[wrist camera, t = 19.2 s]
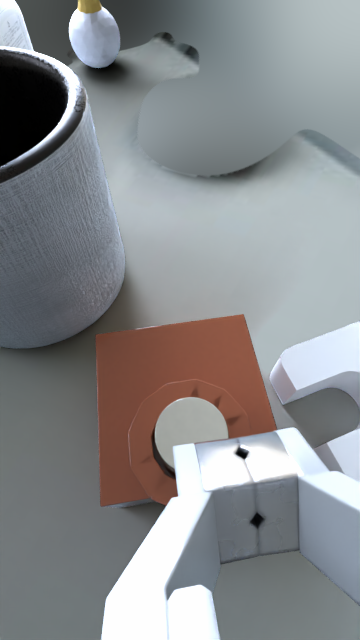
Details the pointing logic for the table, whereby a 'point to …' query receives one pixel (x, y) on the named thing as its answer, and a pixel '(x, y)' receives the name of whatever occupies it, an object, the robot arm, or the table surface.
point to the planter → (52, 206)
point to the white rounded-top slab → (13, 27)
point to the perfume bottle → (94, 34)
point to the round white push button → (187, 426)
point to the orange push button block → (169, 398)
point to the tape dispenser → (325, 386)
